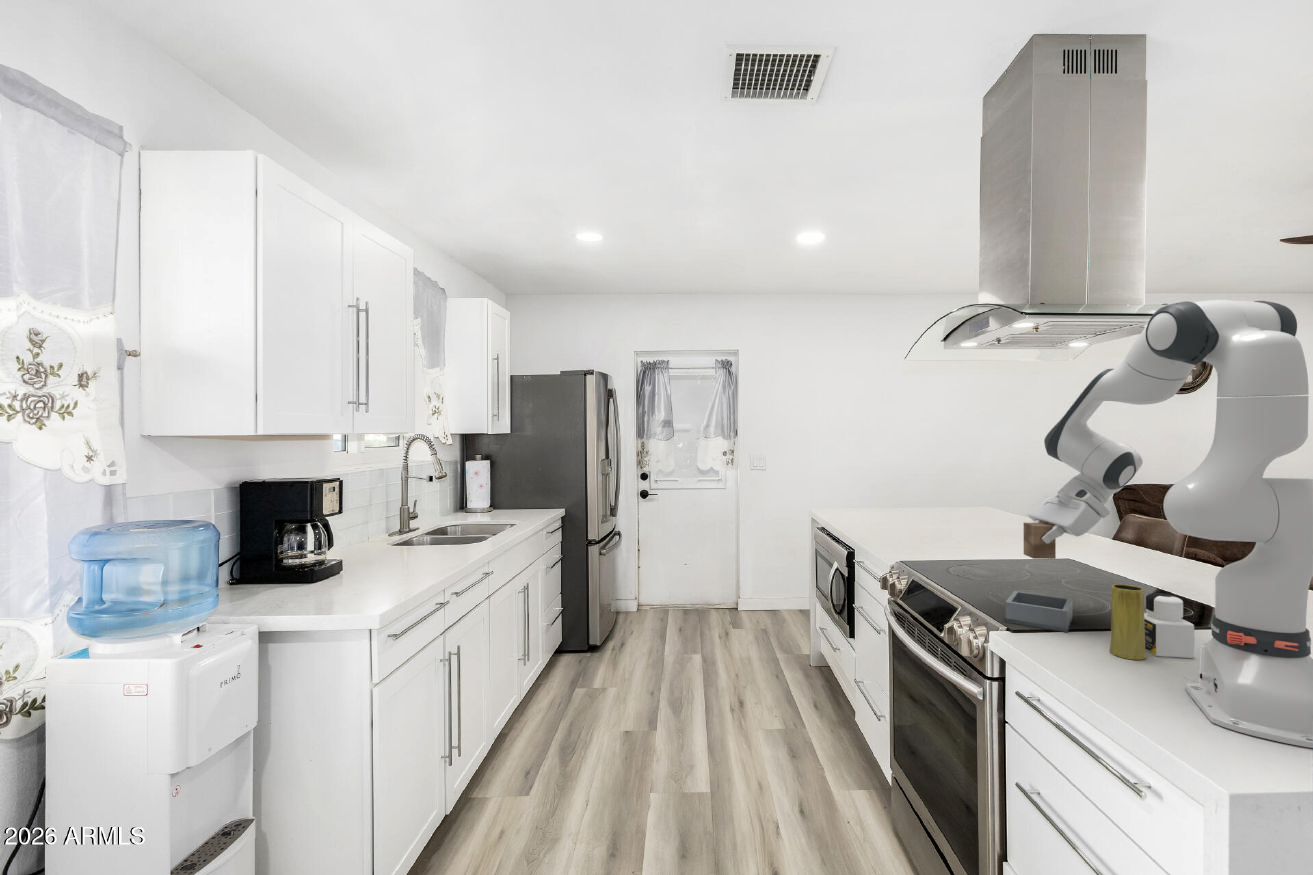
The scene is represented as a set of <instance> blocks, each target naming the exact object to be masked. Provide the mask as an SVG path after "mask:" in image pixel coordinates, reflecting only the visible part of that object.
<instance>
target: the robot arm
mask: <svg viewBox="0 0 1313 875" xmlns="http://www.w3.org/2000/svg"><path fill="white" fill-rule="evenodd" d="M1295 315H1296V314H1294V312H1293V310H1292V309H1291V308H1289V307H1288V306H1286V305H1284V304H1281V303H1276V302H1273V301H1266V300H1254V301H1251V300H1250V301H1249V300H1230V299H1225V298H1223V299H1209V300H1208V299H1207V300H1198V301H1188V300H1187V301H1186V300H1185V301H1180V302H1175V303H1171V304H1168V305H1164V306H1162V307H1161V308H1158V309H1157V310H1156V311H1155V312H1153V314H1152V315H1151V316H1150V319H1149V320H1148V323H1147V325H1146V326H1145V327H1144V329H1143V330H1142V331H1141V333H1140V334H1139V335H1138V336H1137V338H1136V340H1135V341H1134V342H1133V344H1132V345H1131V347H1130V349H1129V351H1128V352H1127V354H1126V356H1125V358H1124V360H1123V361H1122V362H1121V363H1120V364H1119V365H1118V366H1117V367H1115V368H1107V369H1104V370H1103V371H1101V372H1099V373H1098V374H1097V375H1096V376H1095V377H1094V378H1093V379H1092V380H1091V381H1090V382H1089V383H1088V384H1087V385H1086V387H1085V388H1084V389H1083V390H1082V392H1080V395H1078V397H1077V398H1076V399H1075V401H1073V403H1072V405H1071V406H1070V407H1069V408H1068V409H1067V411H1066V412H1065V413H1064V415H1063V416H1062V417H1061V419H1059V421H1058V422H1057V423H1056V424H1055V425H1054V426H1053V427H1052V428H1051V429H1050V430H1049V432H1048V433H1047V434H1046V436H1045V438H1044V441H1043V443H1044V448H1045V451H1046V454H1047V455H1048V456H1049V457H1052V458H1054V459H1056V460H1058V461H1059V462H1061V463H1064V464H1066V465H1067V466H1069V467H1070V468H1073V469H1074V470H1076V471H1077V472H1079V473H1078V474H1077V475H1074V476H1073V477H1071V479H1069V481H1067V482H1066V484H1064V485H1063V486H1062V487H1061V488H1060V489H1059V490H1058V491H1057V495H1056V496H1049V497H1046V498H1044V499H1043V500H1041V502H1039V503H1038V504H1036V505H1035V506H1034V507H1033V508H1032V509H1031V510H1030V511H1029V512H1028V515H1027V516H1028V518H1030V519H1031V521H1032V522H1033V523H1047V524H1051V525H1054V527H1053V528H1052V530H1051V531H1049V532H1048V533H1047V534H1046V533H1044V534H1043V535H1042V536H1041V537H1040V539H1041V540H1042V541H1043V542H1045V543H1047V544H1048V543H1050V542H1051V541H1052V540H1053V539H1055V538H1056V539H1057V538H1059V537H1061V536H1063V535H1064V534H1068V535H1071V536H1074V537H1081V536H1083V535H1085V534H1086V533H1088V532H1089V531H1090V530H1091V529H1093V527H1095V526H1096V525H1097V524H1098V523H1099V522H1100V520H1101V519H1104V518H1106V517H1108V516H1109V515H1110V514H1111V511H1110V510H1109V508H1107V507H1106V506H1105V505H1106V504H1107V503H1108V501H1109V500H1110V498H1111V496H1113V495H1114V494H1116V493H1118V492H1119V491H1121V490H1122V489H1123V488H1124V487H1125V486H1126V485H1127V484H1128V483H1129V482H1130V481H1131V480H1132V479H1133V478H1134V477H1135V475H1136V474H1137V473H1138V471H1139V470H1140V469H1141V467H1142V465H1143V464H1144V462H1143V461H1144V460H1143V458H1142V456H1141V455H1140V453H1139V452H1138V451H1137V450H1136V449H1134V448H1133V447H1132V446H1131V445H1128V444H1125V443H1121V442H1117V443H1116V442H1115V441H1113V440H1111V439H1109V438H1107V437H1105V436H1103V435H1102V434H1100V433H1098V432H1096V431H1094V430H1093V429H1091V428H1090V427H1089V425H1088V424H1087V422H1088V421H1089V419H1091V417H1092V416H1093V415H1094V413H1095V412H1097V410H1098V409H1099V407H1100V406H1101V405H1102V404H1103V402H1118V403H1124V404H1130V405H1138V406H1140V405H1142V406H1143V405H1154V404H1159V403H1163V402H1165V401H1167V400H1169V399H1170V398H1172V397H1174V396H1175V395H1176V394H1177V393H1178V392H1179V391H1180V389H1181V388H1182V387H1183V385H1184V384H1185V382H1186V381H1187V379H1188V378H1189V376H1190V374H1191V373H1192V371H1193V370H1194V367H1195V366H1196V365H1198V364H1199V363H1201V362H1206V363H1208V364H1210V365H1211V366H1212V367H1213V368H1214V370H1215V371H1216V376H1217V384H1216V387H1217V388H1216V408H1215V410H1216V411H1215V425H1214V433H1213V434H1214V435H1213V440H1212V444H1211V446H1210V449H1209V451H1208V453H1207V455H1206V456H1205V458H1204V459H1203V461H1202V462H1201V463H1200V464H1199V466H1198V467H1196V469H1194V470H1193V471H1192V472H1191V473H1190V474H1188V475H1187V476H1185V477H1183V478H1182V479H1180V480H1178V481H1176V482H1175V483H1174V484H1173V485H1172V486H1171V487H1169V489H1168V491H1167V492H1166V493H1165V496H1164V499H1163V513H1164V516H1165V518H1166V520H1167V521H1168V523H1169V524H1170V526H1171V527H1172V528H1173V529H1174V530H1175V531H1177V532H1178V533H1179V534H1182V535H1186V536H1191V537H1193V538H1194V537H1195V538H1199V539H1206V540H1210V541H1227V542H1248V543H1249V542H1250V543H1251V542H1252V543H1253V542H1254V543H1255V545H1254V548H1253V549H1252V551H1250V553H1248V555H1247V556H1246V557H1244V558H1242V559H1239V560H1237V561H1234V562H1231V563H1229V564H1227V565H1224V567H1222V568H1221V569H1220V570H1219V571H1218V573H1216V575H1215V580H1214V588H1215V589H1214V591H1215V592H1214V605H1215V606H1214V607H1215V608H1214V609H1215V610H1214V614H1213V615H1212V616H1211V622H1210V628H1211V636H1212V638H1211V640H1209V641H1208V642H1206V643H1204V644H1202V645H1200V653H1199V678H1198V679H1199V681H1198V682H1188V683H1186V684H1185V691H1186V692H1187V693H1188V695H1189V696H1190V698H1191V699H1192V700H1193V701H1194V702H1195V703H1196V705H1197V706H1198V708H1199V709H1200V710H1201V711H1202V712H1203V713H1204V715H1205V716H1206V717H1207V719H1208V720H1209V721H1210V722H1211V723H1213V724H1216V725H1217V726H1220V727H1223V728H1226V729H1228V730H1232V731H1235V732H1239V733H1241V734H1245V735H1249V736H1253V737H1256V738H1257V737H1258V738H1261V739H1266V740H1270V741H1274V742H1275V741H1276V742H1279V743H1284V744H1289V745H1293V746H1297V747H1298V746H1300V747H1305V748H1311V749H1313V658H1312V657H1311V656H1310V655H1311V654H1312V650H1311V645H1312V638H1311V634H1310V630H1309V629H1308V628H1307V610H1308V599H1309V598H1308V597H1309V596H1308V595H1309V590H1310V586H1311V585H1310V584H1311V581H1312V579H1313V479H1312V478H1291V477H1290V478H1286V477H1285V478H1283V477H1281V478H1280V477H1264V473H1265V471H1266V469H1267V467H1268V466H1269V465H1270V464H1271V463H1272V462H1273V461H1274V460H1276V459H1278V458H1281V457H1283V456H1287V455H1289V454H1291V453H1293V452H1295V451H1297V450H1298V449H1300V448H1301V447H1302V446H1303V445H1304V444H1305V442H1306V441H1307V439H1308V437H1309V391H1310V390H1309V376H1308V374H1309V373H1308V368H1307V367H1308V366H1307V362H1306V358H1305V354H1304V350H1303V347H1302V344H1301V341H1300V340H1299V339H1298V338H1297V337H1296V335H1297V331H1298V330H1297V329H1298V322H1297V318H1296V316H1295Z"/></svg>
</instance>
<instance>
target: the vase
mask: <svg viewBox="0 0 1313 875" xmlns="http://www.w3.org/2000/svg"><path fill="white" fill-rule="evenodd" d="M1144 591H1145V590H1144V588H1143V587H1141V586H1138V585H1132V584H1126V583H1125V584H1124V583H1115V584H1113V585H1112V586H1111V621H1110V622H1111V624H1110V625H1111V627H1110V645H1109V652H1110V654H1112V655H1113V656H1114V657H1115V656H1116V657H1119V658H1121V659H1126V660H1131V661H1132V660H1133V661H1142V660H1145V659H1147V655H1146V650H1145V621H1144V613H1145V592H1144Z"/></svg>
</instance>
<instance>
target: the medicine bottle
mask: <svg viewBox="0 0 1313 875" xmlns="http://www.w3.org/2000/svg"><path fill="white" fill-rule="evenodd" d="M1183 617H1184V600H1183V599H1182V598H1180V597H1178V596H1177V595H1173V594H1168V593H1163V592H1153V593H1148V594H1147V595H1146V596H1145V612H1144V621H1145V652H1148V653H1149V654H1151V655H1153V656H1155V657H1165V658H1179V659H1180V658H1182V659H1184V658H1185V659H1194V658H1195V624H1193V623H1191V622H1190V621H1188V620H1185V619H1183Z"/></svg>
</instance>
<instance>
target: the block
mask: <svg viewBox="0 0 1313 875" xmlns="http://www.w3.org/2000/svg"><path fill="white" fill-rule="evenodd" d="M1053 527H1054V525H1051V524H1047V523H1034V522H1023V555H1024V556H1027V557H1029V558H1031V559H1034V560H1035V559H1037V560H1038V559H1039V560H1040V559H1041V560H1042V559H1043V560H1049V559H1050V560H1055V559H1057V558H1056V553H1057V552H1056V548H1057V547H1056V539H1057V538H1055V539H1053V540H1052V541H1051V542H1050V543H1048V544H1047V543H1045V542H1043V541H1042V540H1041V539H1040V537H1041V536H1042V535H1043V534H1044V533H1046V534H1047V533H1048V532H1049V531H1051V530H1052V528H1053Z"/></svg>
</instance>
